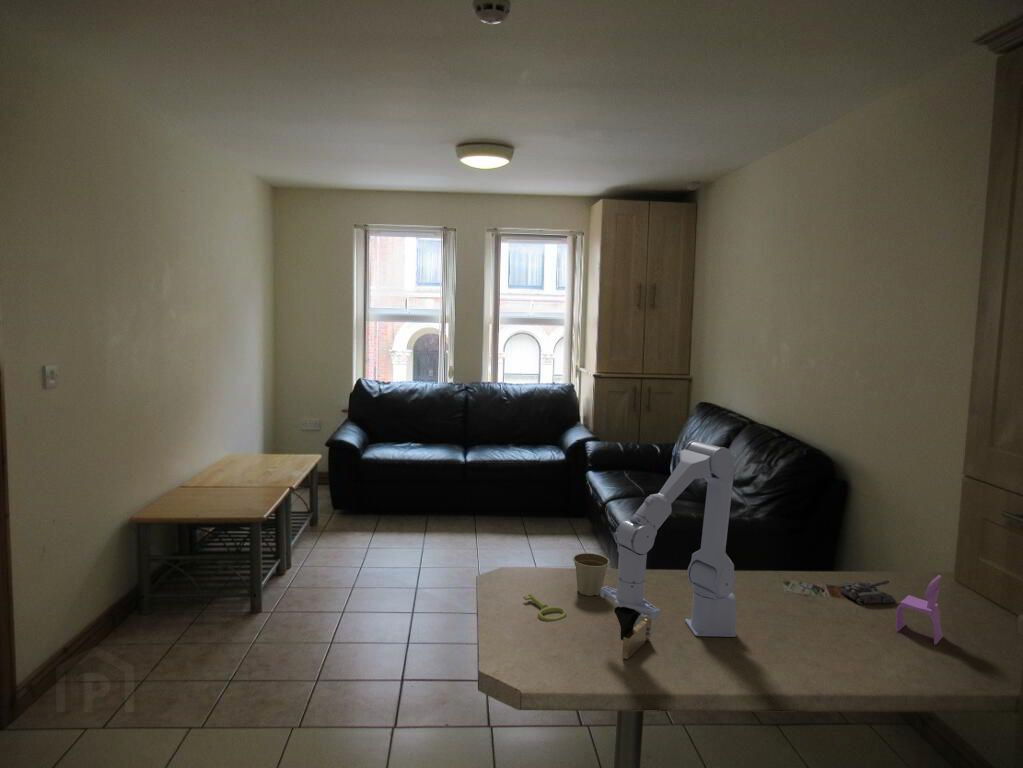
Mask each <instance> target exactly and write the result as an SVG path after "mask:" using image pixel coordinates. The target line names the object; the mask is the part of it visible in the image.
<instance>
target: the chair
mask: <svg viewBox="0 0 1023 768" xmlns="http://www.w3.org/2000/svg"><path fill="white" fill-rule="evenodd" d="M941 579H942V575H940V574H938V575H937V576H936V577H934V578H933V579H932V580H931V581H930V582H929V584H928V586H927V588H926V591H925V593H924V595H923V597H924V598H925V599H927V600H924V599H921V598H918V597H916V596H913V595H907V596H905V598H904V599H903V600H901V601H900V603H899V605H898V606H897V608H896V613H895V632H896V633H898V632H899V631H900V630H901V629H903V628H904V627H905V626H906V621H905V616H904V609H905V608H907V609H911V610H914V611H917V612H920V613H922V614H925V615H927V616H929V617H930V618H931V619H930V620H931V622H932V628H933V644H934V645H935V646H936V645H937V644H938V643H939V642H940V641H941V640H942V638H943V637H944V635H943V632H942V627H941V626H942V625H941V611H940V608H939V603H938V602H937V600H938V597H939V592H940V590H941V587H940V586H939V583H940V582H941V581H940V580H941Z"/></svg>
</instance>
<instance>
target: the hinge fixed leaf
mask: <svg viewBox="0 0 1023 768" xmlns="http://www.w3.org/2000/svg"><path fill="white" fill-rule="evenodd" d="M644 617H647V618H649V617H648V616H646V615H644V614H642V613H641V614H640V616H639V617H638V619H637V620H636V622H635V624H634V627H635V626H636V625H638V624H639V623H640V622H641V621H642V618H644ZM651 629H652V627H651V628H650V629H646V634H649V633H650V634H651Z"/></svg>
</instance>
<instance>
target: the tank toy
mask: <svg viewBox="0 0 1023 768" xmlns="http://www.w3.org/2000/svg"><path fill="white" fill-rule="evenodd" d="M889 583H890V580H889V579H883V580H881V581H878V582H874V583H870V582H862V581H856V582H845V583H843V584H842V585H841V589H840V591H839V592H840V594H842V595H844V596H846V597H849V598H850V599H851V600H854V601H855V602H856V603H857V604H858V605H860V606H862V605H863V606H864V605H867V606H868V605H887V604H889V605H890V604H891V605H892V604H896V603H897V600H896V599H895V598H894V596H893V595H892V594H890V593H887V592H885V591H880V590H879V589H877V587H878V586H879V587H880V586H882V585H887V584H888V585H889Z"/></svg>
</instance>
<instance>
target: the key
mask: <svg viewBox="0 0 1023 768" xmlns="http://www.w3.org/2000/svg"><path fill="white" fill-rule="evenodd" d="M522 598H523V599H524V600H525V601H529V600H531V602H533V603H534V604H535V605H536V606H537V607H538V608H540V610H539V611H538V614H537V618H539V619H540V620H542V621H545V622H546V621H547V622H548V621H549V622H554V621H558V620H562V619H565V618H566V616H567V611H566V610H565V609H564V608H563V607H559V606H548V604H546V603H545V604H544V603H543V602H542V601H540V599H538V598H537V597H536V596H535V595H534V594H533V593H529V594H528V595H526V596H523V597H522ZM556 612H557V613H561V614H560V615H559V616H554V617H551V616H550V617H549V616H544V615H545V614H549V613H556Z"/></svg>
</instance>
